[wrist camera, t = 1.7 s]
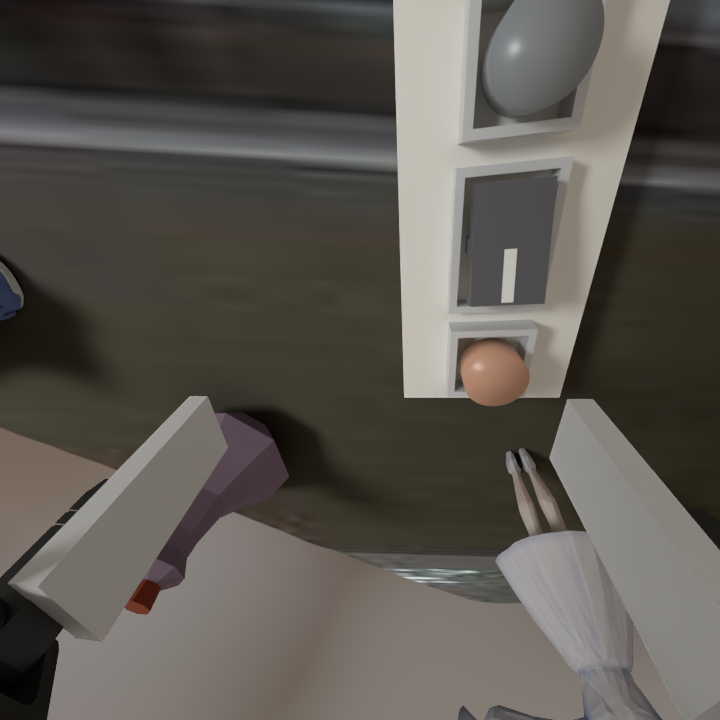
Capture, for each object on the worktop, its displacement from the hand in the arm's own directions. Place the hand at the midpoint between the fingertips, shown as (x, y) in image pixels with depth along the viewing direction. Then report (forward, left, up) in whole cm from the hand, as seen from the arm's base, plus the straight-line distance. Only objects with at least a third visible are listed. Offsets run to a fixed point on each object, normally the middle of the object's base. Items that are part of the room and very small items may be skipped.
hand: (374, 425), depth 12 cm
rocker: (-3, +8, -16) cm, 18 cm away
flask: (+21, -22, -21) cm, 37 cm away
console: (-3, +8, -21) cm, 23 cm away
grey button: (-13, +8, -16) cm, 22 cm away
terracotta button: (+7, +8, -16) cm, 20 cm away
